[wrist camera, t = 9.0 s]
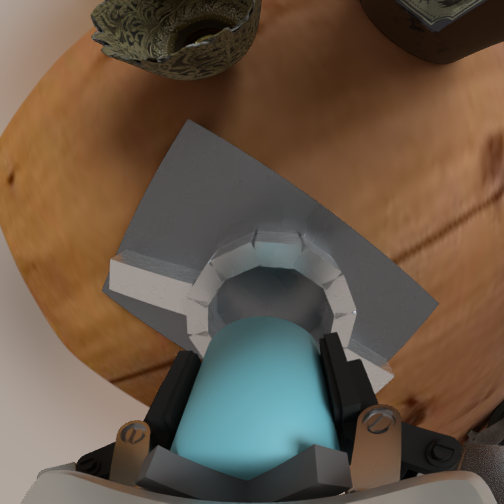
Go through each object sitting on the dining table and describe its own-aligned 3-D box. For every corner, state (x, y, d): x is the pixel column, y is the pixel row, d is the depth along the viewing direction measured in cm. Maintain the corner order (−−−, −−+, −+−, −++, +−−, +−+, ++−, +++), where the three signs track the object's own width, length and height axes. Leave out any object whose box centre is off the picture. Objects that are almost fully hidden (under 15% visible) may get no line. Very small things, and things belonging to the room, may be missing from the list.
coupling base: (429, 294, 17) (456, 320, 13) (320, 405, 20) (325, 440, 17) (195, 123, 15) (172, 109, 11) (112, 283, 19) (82, 306, 15)
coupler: (316, 306, 10) (357, 474, 3) (323, 395, 11) (342, 526, 5) (191, 324, 11) (118, 469, 4) (222, 405, 12) (194, 528, 5)
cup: (213, 127, 15) (160, 92, 7) (137, 71, 14) (64, 30, 7) (294, 47, 13) (304, -30, 5) (210, -1, 12) (177, -70, 5)
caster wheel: (513, 377, 20) (442, 453, 23) (549, 411, 11) (465, 496, 13) (518, 387, 21) (453, 456, 23) (549, 418, 11) (475, 494, 14)
